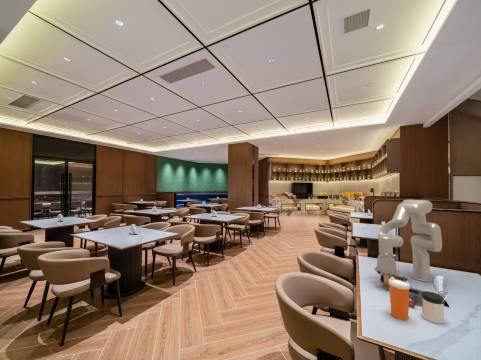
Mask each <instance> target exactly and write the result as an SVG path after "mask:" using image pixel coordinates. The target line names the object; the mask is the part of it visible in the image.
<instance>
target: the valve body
mask: <svg viewBox="0 0 481 360" xmlns="http://www.w3.org/2000/svg"><path fill="white" fill-rule="evenodd" d="M423 291H424V290H421V289H418V288H415V287H414V288H413V287H412V286H410V289H409V308H412V309H414V308H415V307H416V306H418V307H422V292H423Z"/></svg>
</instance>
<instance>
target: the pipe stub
mask: <svg viewBox="0 0 481 360" xmlns="http://www.w3.org/2000/svg"><path fill="white" fill-rule="evenodd" d="M382 273H383V282H382V283H383V287H384V288H385V289H389V284H388V283H389V279H390V274H389V273H386V272H382Z"/></svg>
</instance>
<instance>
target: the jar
mask: <svg viewBox="0 0 481 360" xmlns="http://www.w3.org/2000/svg"><path fill="white" fill-rule="evenodd" d="M422 291H423V292H422V306H421V314H422V317H423V319H424V320H427V321H428V322H431V323H434V324H441V325H442V324H445V304H444V297H443V296H442V295H440V294H438V293H436V292H433V291H427V290H422Z"/></svg>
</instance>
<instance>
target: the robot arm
mask: <svg viewBox="0 0 481 360" xmlns="http://www.w3.org/2000/svg"><path fill="white" fill-rule="evenodd" d="M432 210H433V203H432V202H431V201H429V200H427V199H404V200H402V202H401V203H399V204H398V205H397V207H396V209H395V212H394V214H393V217H392V219H391V220H389V221H388V222H385V224H384V225H382V226H381V227H380V230H379V233H378V235H377V239H378V255H377V261H376V266H375V267H374V271H375V272H377V274H378V275H379V276H380V281H381V283H383V273H382V272H386V273H389V274H390V277H391V275H392V274H395V273H396V274H395V276H399V275H400V274H401V273H400V272H399V270H398V268H397V264H396V263H397V262H396V256H397V255H396V254H394V248H400V247H402V246H403V245H404V244H405V243H404V241H405V240H404V238H403V237H402V236H400V235H396V234H391V233H389V232H391V231H392V230H396V229H399V228H403V227H406V226H407V225H408V222H409V220H411V228H412V229H411V230H412V232H413V233H414V234H415V235H412V236H411V238H410V244H411V249H412V273H410V277H411V278H412V279H414V280H417V281H420V282H425V283H432V282H433V281H434V279H433V278H432V277H431V269H430V267H431V264H430V263H431V262H430V254H429V252H428V251H430V252H433V253H434V252H435V253H439V252H441V251H442V248H443V239H442V238H443V237H442V231H441V227H440V225H439V224H438V223H434V222H430V221H429V222H427V217H426V214H428V213H430V212H432ZM397 270H398V271H397ZM398 272H399V273H400V274H399V273H398Z"/></svg>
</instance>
